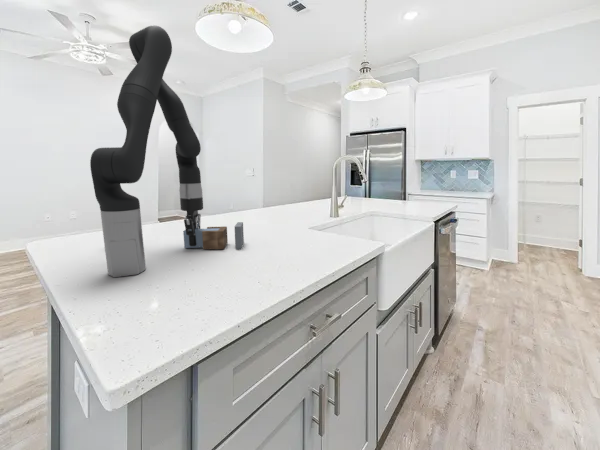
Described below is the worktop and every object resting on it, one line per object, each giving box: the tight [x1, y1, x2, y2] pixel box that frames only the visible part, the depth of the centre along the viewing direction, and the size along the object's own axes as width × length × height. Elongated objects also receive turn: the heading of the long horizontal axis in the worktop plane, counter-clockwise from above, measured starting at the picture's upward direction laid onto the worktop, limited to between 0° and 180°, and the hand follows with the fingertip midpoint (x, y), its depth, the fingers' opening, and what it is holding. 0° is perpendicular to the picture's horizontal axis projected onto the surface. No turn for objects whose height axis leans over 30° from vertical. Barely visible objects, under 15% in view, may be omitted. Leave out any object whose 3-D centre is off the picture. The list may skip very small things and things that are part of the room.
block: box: [202, 226, 229, 250], centre depth 113 cm, size 7×9×6 cm
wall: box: [234, 221, 245, 250], centre depth 113 cm, size 2×9×8 cm, turn 4°
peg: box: [182, 228, 220, 249], centre depth 113 cm, size 12×4×6 cm, turn 96°
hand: (194, 244), depth 113 cm, fingers closed on peg, 4 cm apart
